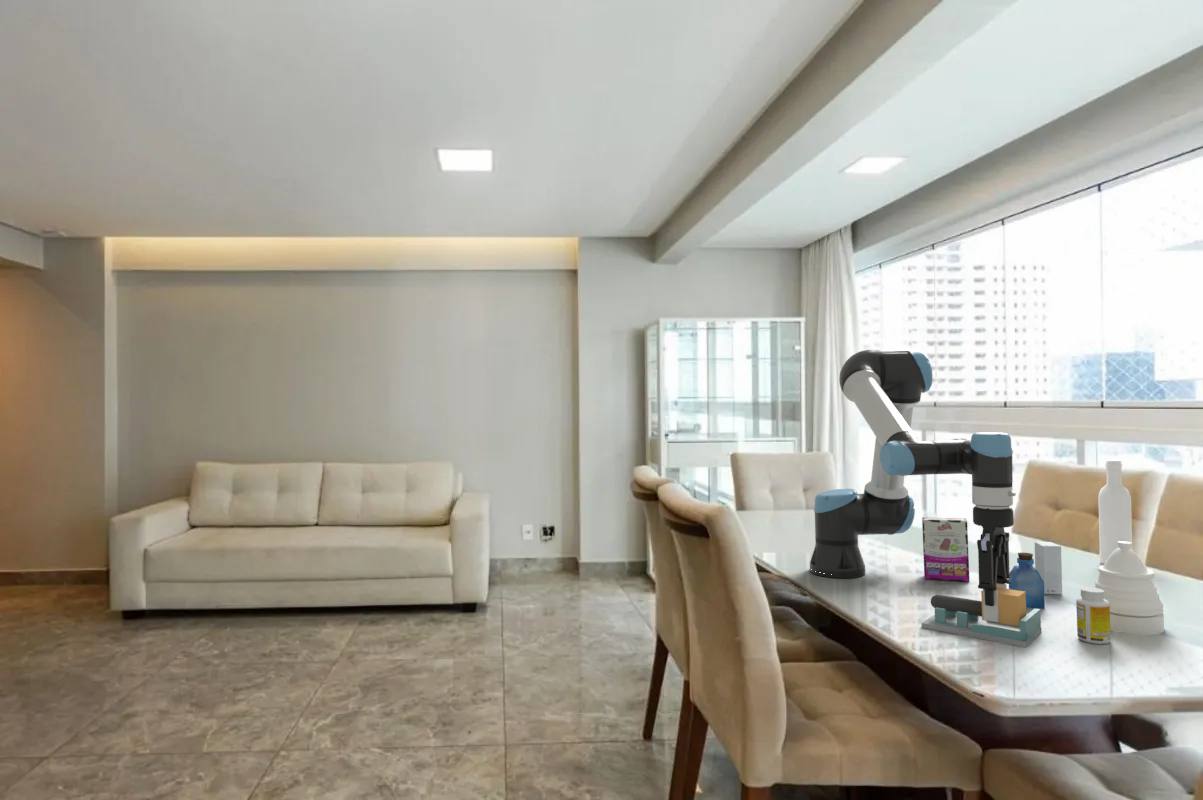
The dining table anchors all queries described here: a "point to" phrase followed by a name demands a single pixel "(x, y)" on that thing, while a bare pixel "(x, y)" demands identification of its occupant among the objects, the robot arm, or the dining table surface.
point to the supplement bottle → (1093, 616)
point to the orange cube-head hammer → (1009, 605)
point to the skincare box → (1049, 566)
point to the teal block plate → (986, 627)
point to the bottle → (1114, 511)
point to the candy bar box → (945, 549)
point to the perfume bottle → (1028, 581)
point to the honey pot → (1130, 593)
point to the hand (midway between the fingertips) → (995, 617)
